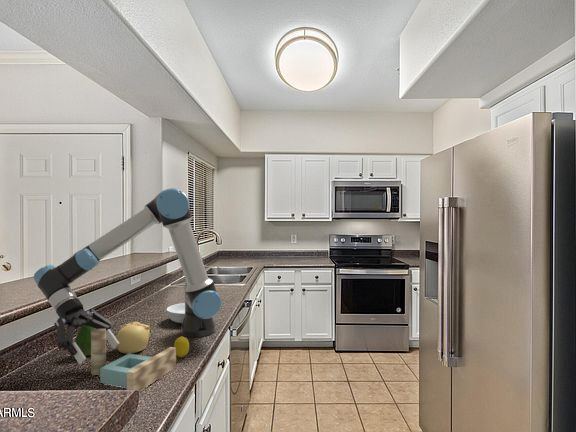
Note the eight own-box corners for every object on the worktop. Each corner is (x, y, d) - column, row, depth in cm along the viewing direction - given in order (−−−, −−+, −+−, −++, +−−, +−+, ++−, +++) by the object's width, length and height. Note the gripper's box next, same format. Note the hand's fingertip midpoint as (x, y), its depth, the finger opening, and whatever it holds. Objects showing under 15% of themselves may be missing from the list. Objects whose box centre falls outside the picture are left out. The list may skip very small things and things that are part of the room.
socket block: (128, 368, 122) (128, 353, 122) (158, 373, 118) (158, 358, 118) (100, 384, 110) (100, 368, 110) (131, 390, 106) (131, 373, 106)
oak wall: (170, 367, 122) (170, 346, 122) (176, 368, 121) (176, 347, 121) (126, 395, 103) (126, 371, 103) (133, 396, 102) (133, 372, 102)
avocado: (93, 349, 138) (93, 318, 138) (102, 354, 133) (102, 322, 133) (71, 355, 132) (71, 323, 132) (79, 361, 127) (79, 328, 127)
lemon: (170, 358, 130) (170, 336, 130) (183, 353, 134) (183, 332, 134) (179, 362, 126) (179, 339, 126) (192, 357, 131) (192, 335, 131)
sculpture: (153, 344, 143) (153, 318, 143) (142, 356, 131) (141, 327, 131) (124, 345, 143) (124, 318, 143) (110, 357, 131) (110, 328, 131)
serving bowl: (199, 329, 162) (199, 314, 162) (157, 326, 166) (157, 311, 166) (217, 316, 182) (217, 303, 182) (180, 314, 187) (180, 301, 187)
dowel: (98, 369, 121) (98, 328, 121) (109, 370, 119) (109, 329, 119) (87, 374, 117) (87, 332, 117) (98, 376, 115) (98, 333, 115)
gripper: (91, 302, 135) (122, 346, 130) (24, 321, 111) (60, 376, 106) (102, 289, 133) (134, 334, 128) (36, 306, 109) (73, 361, 105)
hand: (100, 353), depth 117 cm, fingers open, 13 cm apart
